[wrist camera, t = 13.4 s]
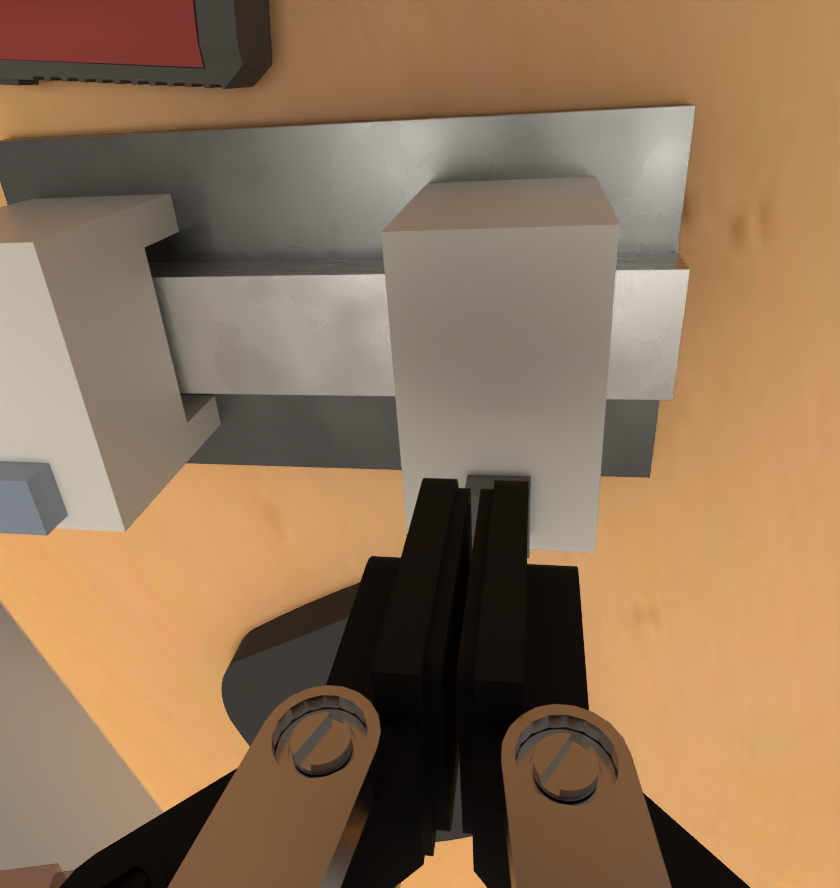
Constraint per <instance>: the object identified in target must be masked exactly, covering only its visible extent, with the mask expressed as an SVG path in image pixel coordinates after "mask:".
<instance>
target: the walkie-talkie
mask: <svg viewBox="0 0 840 888" xmlns="http://www.w3.org/2000/svg"><path fill="white" fill-rule="evenodd" d="M271 66H272V50H271V34H270V18H269V2H268V0H0V84H3V85H38V84H39V81H38V80H48V81H53V80H62V81H80V82H98V83H115V84H126V83H132V84H135V85H140V84H150V85H168V86H186V87H200V86H204V88H215V87H222V88H223V89H229V88H240V87H252V86H254V85H255V84H256V83H257V82H258V80H259V79H260V78H261V77H262V76H263V75H264V74H265V72H266V71H267V70H268V69H269V68H270V67H271Z"/></svg>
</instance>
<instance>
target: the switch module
mask: <svg viewBox="0 0 840 888" xmlns="http://www.w3.org/2000/svg"><path fill="white" fill-rule="evenodd" d="M381 235H382V247H383V259H384V270H385V282H386V293H387V305H388V317H389V328H390V340H391V351H392V363H393V375H394V386H395V398H396V409H397V421H398V433H399V444H400V456H401V467H402V479H403V491H404V502H405V514H406V525H407V534H408V530H409V526H410V523H411V519H412V515H413V512H414V508H415V504H416V501H417V497H418V493H419V490H420V486H421V482H422V480H423V478H446V479H457V480H458V485H459V488H470V489H471V512H472V549H473V542H474V534H475V527H476V519H477V512H478V504H479V497H480V490H481V489H493V488H494V481H495V480H509V481H529V497H528V539H527V558H529V550H546V551H569V552H592V553H595V543H596V530H597V516H598V503H599V490H600V476H601V463H602V449H603V436H604V423H605V409H606V396H607V383H608V369H609V356H610V343H611V329H612V316H613V302H614V289H615V276H616V262H617V249H618V236H619V223H618V221H617V219H616V217H615V215H614V213H613V210H612V208H611V206H610V204H609V202H608V200H607V198H606V196H605V194H604V192H603V190H602V188H601V186H600V184H599V182H598V180H597V178H596V176H583V177H560V178H537V179H514V180H491V181H467V182H444V183H427V184H426V185H425V186H424V187H423V188H422V189H421V190H420V191H419V192H418V193H417V195H416V196H415V197H414V198H413V199H412V200H411V201H410V202H409V203H408V204H407V205H406V206H405V207H404V208H403V209H402V210H401V212H400V213H399V214H398V215H397V216H396V217H395V218H394V219H393V220H392V221H391V222H390V223H389V224H388V225H387V226H386V227H385V229H384V230H383V231H382V232H381Z"/></svg>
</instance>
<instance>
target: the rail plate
mask: <svg viewBox="0 0 840 888" xmlns="http://www.w3.org/2000/svg"><path fill="white" fill-rule="evenodd" d="M694 113H695V105H691V104H674V105H655V106H635V107H616V108H597V109H578V110H558V111H539V112H520V113H501V114H481V115H462V116H443V117H423V118H404V119H385V120H366V121H346V122H327V123H308V124H289V125H269V126H250V127H231V128H212V129H192V130H173V131H154V132H135V133H115V134H96V135H77V136H58V137H38V138H19V139H5V140H0V182H1V185H2V188H3V191H4V194H5V197H6V200H7V204H8V205H11V204H15V203H19V202H22V201H26V200H30V199H40V198H68V197H95V196H123V195H151V194H171V198H172V202H173V207H174V212H175V216H176V221H177V225H178V230H179V232H177V233H175V234H173V235H171V236H168V237H166V238H164V239H162V240H160V241H158V242H155V243H153V244H151V245H149V246H147V247H145V252H146V256H147V260H148V264H149V268H150V272H151V277H152V281H153V285H154V289H155V293H156V297H157V301H158V305H159V309H160V313H161V318H162V322H163V326H164V330H165V334H166V338H167V342H168V346H169V350H170V355H171V359H172V363H173V367H174V371H175V375H176V379H177V383H178V387H179V391H180V395H215V400H216V405H217V409H218V414H219V418H220V423H221V424H220V425H219V426H218V428H217V429H216V430H215V431H214V432H213V433H212V434H211V436H210V437H209V438H208V439H207V440H206V441H205V442H204V443H203V445H202V446H201V447H200V448H199V449H198V450H197V451H196V452H195V454H194V455H193V456H192V457H191V458H190V459H189V460H188V461H187V463H198V464H230V465H262V466H294V467H327V468H359V469H391V470H402V467H401V456H400V444H399V433H398V421H397V409H396V398H395V386H394V375H393V363H392V351H391V340H390V328H389V317H388V305H387V293H386V282H385V270H384V259H383V247H382V235H381V232H382V231H383V230H384V229H385V227H386V226H387V225H388V224H389V223H390V222H391V221H392V220H393V219H394V218H395V217H396V216H397V215H398V214H399V213H400V212H401V210H402V209H403V208H404V207H405V206H406V205H407V204H408V203H409V202H410V201H411V200H412V199H413V198H414V197H415V196H416V195H417V193H418V192H419V191H420V190H421V189H422V188H423V187H424V186H425V185H426V184H427V183H444V182H467V181H491V180H514V179H537V178H560V177H583V176H596V178H597V180H598V182H599V184H600V186H601V188H602V190H603V192H604V194H605V196H606V198H607V200H608V202H609V204H610V206H611V208H612V210H613V213H614V215H615V217H616V219H617V221H618V223H619V236H618V249H617V262H616V276H615V289H614V302H613V316H612V329H611V343H610V356H609V369H608V383H607V396H606V409H605V423H604V436H603V449H602V463H601V476H616V477H648V478H650V472H651V463H652V455H653V447H654V439H655V431H656V423H657V414H658V406H659V400H673V392H674V385H675V377H676V370H677V362H678V355H679V347H680V340H681V332H682V324H683V317H684V309H685V302H686V294H687V287H688V279H689V272H690V269H689V268H688V266H687V265H686V264H685V262H684V261H683V259H682V258H681V257H680V255H679V254H678V253H677V251H678V243H679V235H680V227H681V219H682V210H683V202H684V194H685V186H686V178H687V170H688V161H689V153H690V145H691V137H692V129H693V121H694Z"/></svg>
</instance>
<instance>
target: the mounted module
mask: <svg viewBox="0 0 840 888" xmlns="http://www.w3.org/2000/svg"><path fill="white" fill-rule="evenodd" d="M177 232H179V230H178V225H177V221H176V216H175V212H174V207H173V202H172V198H171V194H151V195H123V196H95V197H68V198H40V199H30V200H26V201H22V202H19V203H15V204H11V205H7V206H4V207H0V533H9V534H29V535H48V534H49V533H50V532H51V531H52V530H53V529H54V528H60V529H80V530H101V531H121V532H125V531H126V530H127V529H128V528H129V527H130V526H131V525H132V524H133V522H134V521H135V520H136V519H137V518H138V517H139V516H140V515H141V513H142V512H143V511H144V510H145V509H146V508H147V507H148V506H149V504H150V503H151V502H152V501H153V500H154V499H155V498H156V496H157V495H158V494H159V493H160V492H161V491H162V490H163V489H164V487H165V486H166V485H167V484H168V483H169V482H170V481H171V480H172V478H173V477H174V476H175V475H176V474H177V473H178V472H179V471H180V469H181V468H182V467H183V466H184V465H185V464H186V463H187V461H188V460H189V459H190V458H191V457H192V456H193V455H194V454H195V452H196V451H197V450H198V449H199V448H200V447H201V446H202V445H203V443H204V442H205V441H206V440H207V439H208V438H209V437H210V436H211V434H212V433H213V432H214V431H215V430H216V429H217V428H218V426H219V425H220V424H221V423H220V418H219V414H218V409H217V405H216V400H215V395H180V391H179V387H178V383H177V379H176V375H175V371H174V367H173V363H172V359H171V355H170V350H169V346H168V342H167V338H166V334H165V330H164V326H163V322H162V318H161V313H160V309H159V305H158V301H157V297H156V293H155V289H154V285H153V281H152V277H151V272H150V268H149V264H148V260H147V256H146V252H145V247H147V246H149V245H151V244H153V243H155V242H158V241H160V240H162V239H164V238H166V237H168V236H171V235H173V234H175V233H177Z"/></svg>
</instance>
